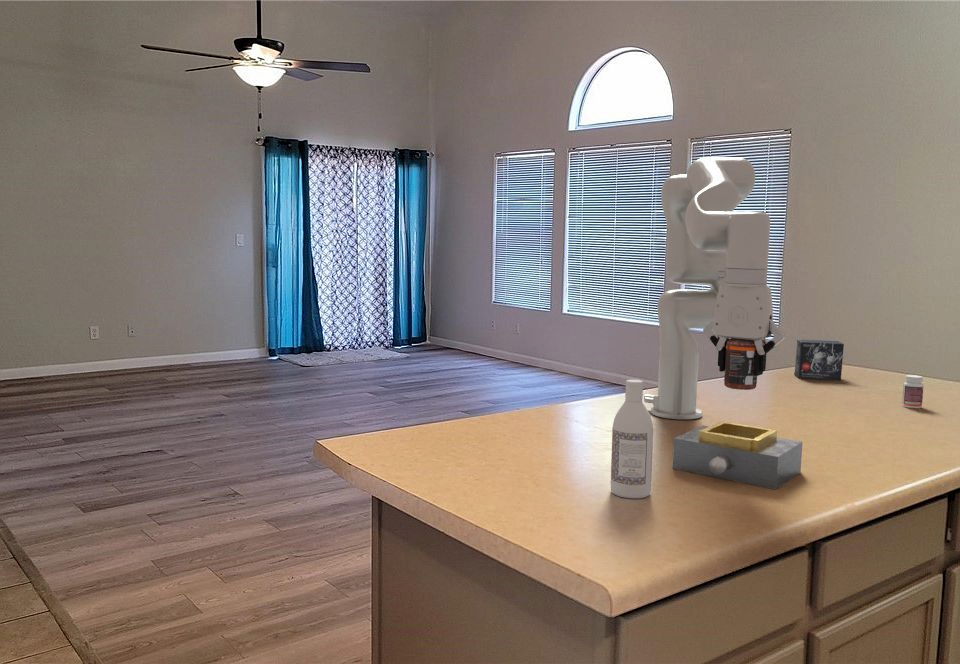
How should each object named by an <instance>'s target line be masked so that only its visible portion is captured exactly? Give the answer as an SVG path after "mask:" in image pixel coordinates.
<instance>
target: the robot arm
mask: <svg viewBox="0 0 960 664" xmlns="http://www.w3.org/2000/svg"><path fill="white" fill-rule="evenodd" d="M755 183H756V172H755V169H754V166H753V165H752V163H751V161H750V160H748V159H746V158H743V157H720V156H718V157H717V156H715V157H714V156H713V157H712V156H711V157H709V156H707V157H702V158H699V159H696V160H694V161H693V162H692V163H691V164H690V165H689V166H688V168H687V171H686V174H677V175H676V174H675V175H671V176H669V177H667V178H666V179H665V180H664V182H663V183H662V186H661V193H660V196H661V197H660V198H661V204H662V205H661V206H662V210H663V214H664V217H665V220H666V226H667V227H666V228H667V233H666V234H667V235H666V252H665V274H666V278H667V280H668V281H669V282H670V283H673V284H678V285H699V286H700V285H701V286H702V285H703V286H704V285H705V286H706V285H707V286H709V287H710V289H671V290H667V291H664V292H663V293H661V295H660V296H659V298H658V300H657V316H658V323H659V325H658V327H659V361H658V381H657V382H658V383H657V384H658V387H657V394H655V395H653V394H647V393H646V394H644V397H643V401H644V402H643V403H644V404H645V403H646V404H652V405H653V406H652V407H651V408H650V413H651V414H652V415H653V416H655V417H657V418H663V419H668V420H669V419H670V420H681V421H682V420H683V421H684V420H687V421H688V420H695V419H700V418H702V416H703V410H701V409H700V408H697V400H698V399H697V397H698V396H697V395H698V377H699V376H698V375H699V350H700V349H699V344H698V341H697V340H696V339H695V336H693V334H692V333H691V332H690V329H703V331H702V332H703V333H704V334H705V336H706V337H707V338H709V341H710V342H711V343H712V344H713V345H714V347H715V349H716V350H717V366H718V367H719V369H718V371H719V372H721V373H722V372H725V357H726V344H727V341H728V340H730V339H731V338H736V339H747V340H754V342H755V345H756V348H757V354H756V355H755V358H754V375H755V376H757V377H759V376H761V375H763V373H764V372H765V371H766V369H767V368H766V365H767V354H768V353H770V352H771V350H773V349H774V348H775V347H776V346H777V345H778V344H780V343H781V342H782V341H783V340H785V338H786V335H785V334H784V332H783V331H782V330H781V329H780V328H779V327H778V325H777V324H776V323H775V322H774V310H773V309H774V307H773V299H772V297H773V296H772V291H771V286H769V285H767V284H768V271H769V270H768V269H769V266H768V265H769V250H770V249H769V248H770V233H771V232H770V231H771V217H770V216H769V214H768V213H766V212H761V211H734V210H735V209H736V208H737V207H738V206H739V205H740V204H741V203H743V202H744V200H746V199H747V198H748V197H749V196H750V194H751V193H752V191H753V190H754V187H755ZM772 335H773V337H772V339H771V340H769V341H768V342H767V338H770V337H771V336H772Z"/></svg>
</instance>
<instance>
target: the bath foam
mask: <svg viewBox="0 0 960 664" xmlns="http://www.w3.org/2000/svg"><path fill="white" fill-rule="evenodd" d="M624 392H625V396H624V397H625V399H624V400H625V401H624V402H623V403H622V404H621V406H620V407H619V409H618V410H617V411H616V414H615V416H614V419H613V423H612V429H611V430H612V432H611V433H612V434H611V435H612V437H611V438H612V439H611V459H610V460H611V461H610V463H611V465H610V492H611V493H612V494H613V495H615V496H617V497H621V498H624V499H633V500H634V499H643V498H647V497H648V496H649V495H651V493H652V491H651V490H652V473H653V468H652V467H653V445H654V444H653V443H654V423H653V420H652V417H651V414H650V412H649V411H648V409H647V407H646V405H645V403H644V402H643V399H644V397H643V395H644V381H643V380H642V379H641V380H640V379H626V381H625V391H624Z"/></svg>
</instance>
